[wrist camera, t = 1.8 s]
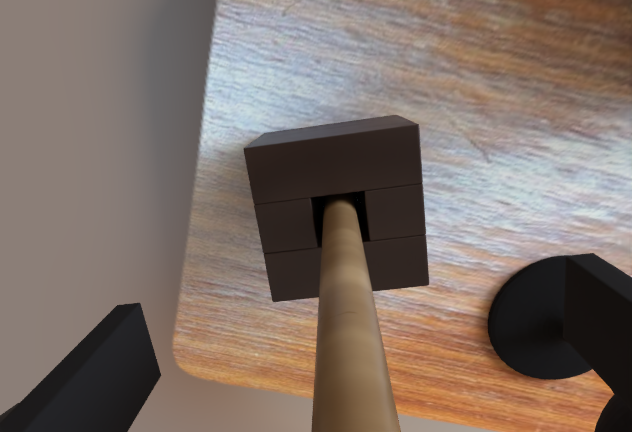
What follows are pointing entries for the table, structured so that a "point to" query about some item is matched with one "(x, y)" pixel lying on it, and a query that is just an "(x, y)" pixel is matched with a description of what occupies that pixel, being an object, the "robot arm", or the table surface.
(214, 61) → the table surface
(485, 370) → the table surface
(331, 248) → the stick
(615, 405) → the wine glass
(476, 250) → the table surface
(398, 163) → the stand
